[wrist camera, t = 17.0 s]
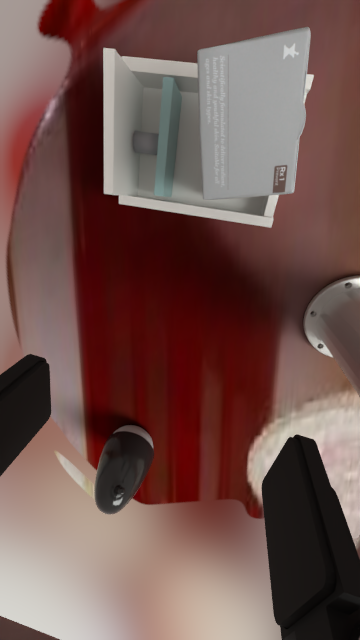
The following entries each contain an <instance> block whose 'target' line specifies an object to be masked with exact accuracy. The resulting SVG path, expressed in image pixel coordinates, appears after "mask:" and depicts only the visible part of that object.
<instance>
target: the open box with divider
mask: <svg viewBox="0 0 360 640" xmlns="http://www.w3.org/2000/svg"><path fill="white" fill-rule="evenodd" d="M103 72H104V194H110V195H119V204H124V205H130V206H137V207H143V208H150V209H156V210H162V211H169V212H175V213H181V214H188V215H194V216H200V217H207V218H213V219H219V220H226V221H232V222H238V223H245V224H251V225H257V226H264V227H270V228H271V227H272V223H273V220H274V218H273V214H274V211H275V207H276V203H277V200H278V196H279V195H268V196H257V197H245V198H232V199H216V200H204V199H203V194H202V179H201V158H200V136H199V104H198V65H197V63H188V62H178V61H167V60H157V59H147V58H137V57H127V56H122V58H121V57H120V55H119V54H118V53H117V51H116V50H115V49H110V48H103ZM163 77H170V78H174V80H175V82H176V84H177V87H178V89H179V91H180V93H181V95H182V102H181V111H180V121H179V130H178V140H177V149H176V159H175V168H174V178H173V187H172V196H171V197H164V196H156V195H154V189H155V176H156V163H157V155H150V154H142V153H135V151H134V148H133V135H134V132H135V131H141V132H149V133H157V134H159V124H160V112H161V99H162V86H163ZM313 77H314V75H309V74H307V76H306V85H305V95H304V103H305V99H306V96H307V93H308V92H309V90H310V88H311V85H312V81H313Z"/></svg>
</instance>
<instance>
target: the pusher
mask: <svg viewBox="0 0 360 640" xmlns="http://www.w3.org/2000/svg"><path fill="white" fill-rule="evenodd" d="M181 102H182V95H181V93H180V91H179V89H178V87H177V84H176V82H175V80H174V78H170V77H163V86H162V99H161V112H160V124H159V134H157V133H149V132H141V131H135V132H134V135H133V148H134V151H135V153H142V154H150V155H157V163H156V176H155V189H154V195H156V196H164V197H171V196H172V187H173V178H174V168H175V159H176V149H177V140H178V130H179V121H180V111H181Z"/></svg>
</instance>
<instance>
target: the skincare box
mask: <svg viewBox="0 0 360 640" xmlns="http://www.w3.org/2000/svg"><path fill="white" fill-rule="evenodd" d="M310 37H311V34H310V29H309V27H305V28H300V29H295V30H290V31H285V32H280V33H276V34H271V35H266V36H262V37H257V38H252V39H248V40H243V41H238V42H234V43H229V44H225V45H220V46H215V47H210V48H205V49H200V50H198V52H197V65H198V104H199V136H200V158H201V179H202V194H203V199H204V200H216V199H232V198H245V197H257V196H268V195H280V194H291V193H293V192H294V188H295V177H296V168H297V158H298V149H299V138H300V135H301V133H302V131H303V128H304V125H305V118H306V111H305V106H304V95H305V85H306V76H307V66H308V57H309V47H310Z"/></svg>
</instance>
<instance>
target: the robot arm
mask: <svg viewBox="0 0 360 640" xmlns="http://www.w3.org/2000/svg"><path fill="white" fill-rule="evenodd" d="M346 283H347V285H345V284H346ZM312 311H313V312H312ZM311 312H312V313H311ZM303 327H304V331H305V334H306V336H307V338H308V340H309V342H310V343H311V345H312V346H313V347H314V348H315V349H316V350H318V351H319V352H321V353H322V354H324V355H327V356H330V357H333V358H334V359H335V360H336V362H337V363H338V365H339V366H340V368H341V370H342V371H343V373H344V374H345V376H346V377H347V379H348V380H349V382H350V383H351V385H352V386H353V388H354V389H355V391H356V392H357V394H358V395H359V397H360V276H352V277H346V278H343V279H340V280H337V281H335V282H333V283H331V284H329V285H328V286H326V287H325V288H324V289H322V290H321V291H320V292H319V293H318V294H317V295H316V296H315V297H314V298H313V299H312V300H311V302H310V303H309V305H308V307H307V309H306V311H305V315H304V319H303ZM50 415H51V395H50V371H49V364H48V363H47V362H46V359H45V358H42V357H38V356H35V355H32V354H29V355H27V356H25V357H24V358H22V359H21V360H20V361H18V362H17V363H16V364H15V365H13V366H12V367H10V368H9V369H8V370H7V371H5V372H4V373H2V374H1V375H0V476H1V475H2V474H3V473H4V471H5V470H6V469H7V468H8V467H9V465H10V464H11V463H12V462H13V461H14V460H15V458H16V457H17V456H18V455H19V454H20V452H21V451H22V450H23V449H24V448H25V447H26V445H27V444H28V443H29V442H30V441H31V440H32V438H33V437H34V436H35V435H36V434H37V432H38V431H39V430H40V429H41V428H42V426H43V425H44V424H45V423H46V422H47V421H48V419H49V417H50ZM262 498H263V508H264V518H265V529H266V537H267V549H268V559H269V569H270V580H271V590H272V600H273V610H274V617H275V621H276V623H277V624H278V625H280V627H281V636H282V640H360V535H359V537H358V540H357V542H356V546H355V545H354V542H353V539H352V536H351V533H350V530H349V528H348V525H347V522H346V519H345V516H344V513H343V511H342V508H341V505H340V502H339V499H338V497H337V494H336V492H335V491H334V489H333V488H332V487H331V485H330V482H329V479H328V477H327V474H326V471H325V468H324V465H323V462H322V459H321V456H320V453H319V450H318V447H317V444H316V442H315V441H314V440H313V439H310V438H307V437H304V436H300V435H295V436H294V437H293V438H292V437H289V438H288V440H287V441H286V443H285V445H284V446H283V448H282V450H281V451H280V453H279V455H278V456H277V458H276V460H275V461H274V463H273V465H272V466H271V468H270V470H269V471H268V473H267V475H266V476H265V478H264V480H263V483H262ZM0 640H59V639H57V638H55V637H52V636H49V635H47V634H45V633H42V632H40V631H37V630H34V629H32V628H29V627H27V626H24V625H22V624H19V623H17V622H14V621H12V620H9V619H7V618H4V617H1V616H0Z"/></svg>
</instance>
